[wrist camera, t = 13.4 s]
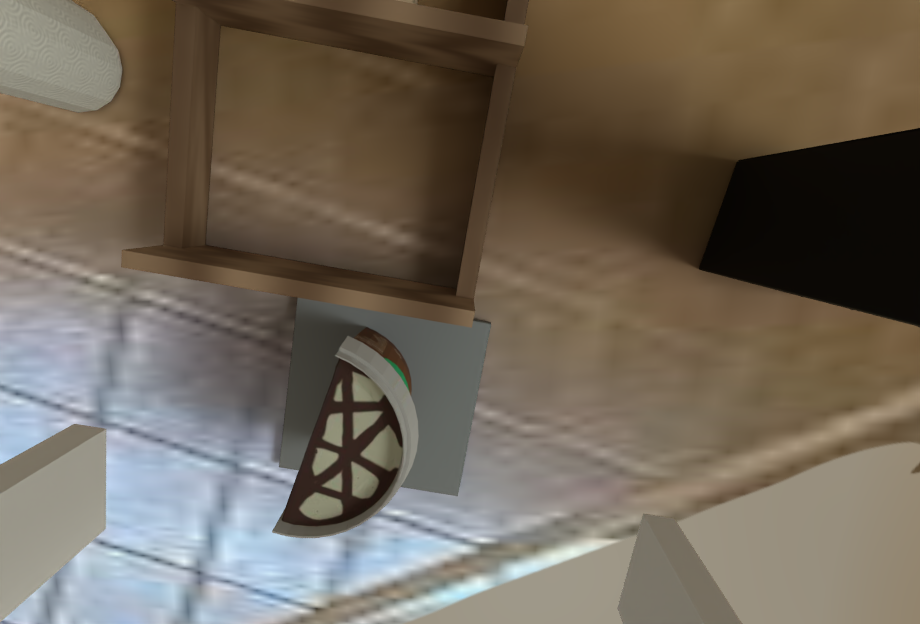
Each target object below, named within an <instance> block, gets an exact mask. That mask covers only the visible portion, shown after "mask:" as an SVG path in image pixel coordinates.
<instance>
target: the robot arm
mask: <svg viewBox="0 0 920 624" xmlns="http://www.w3.org/2000/svg"><path fill="white" fill-rule="evenodd" d="M105 529H106V429H103V428H97V427H91V426H84V425H78V424H73V425H72V426H70V427H68V428H66V429H64V430H63V431H61V432H59V433H57V434H55V435H53V436H52V437H50V438H48V439H46V440H44V441H43V442H41V443H39V444H37V445H35V446H33V447H32V448H30V449H28V450H26V451H24V452H23V453H21V454H19V455H17V456H15V457H14V458H12V459H10V460H8V461H6V462H4V463H3V464H1V465H0V622H1V621H2V620H3V619H4V618H5V617H7V616H8V615H9V614H10V613H11V612H12V611H13V610H14V609H16V608H17V607H18V606H19V605H20V604H21V603H22V602H24V601H25V600H26V599H27V598H28V597H29V596H30V595H31V594H33V593H34V592H35V591H36V590H37V589H38V588H39V587H40V586H42V585H43V584H44V583H45V582H46V581H47V580H48V579H49V578H51V577H52V576H53V575H54V574H55V573H56V572H57V571H59V570H60V569H61V568H62V567H63V566H64V565H65V564H66V563H68V562H69V561H70V560H71V559H72V558H73V557H74V556H75V555H77V554H78V553H79V552H80V551H81V550H82V549H83V548H85V547H86V546H87V545H88V544H89V543H90V542H91V541H92V540H94V539H95V538H96V537H97V536H98V535H99V534H100V533H101V532H103V531H104V530H105ZM618 611H619V614H620V616H621V619H622V622H623V624H742V623H741V621H740V620H739V618H738V616H737V615H736V613H735V612H734V610H733V609H732V607H731V606H730V604H729V603H728V601H727V599H726V598H725V596H724V595H723V593H722V592H721V590H720V589H719V587H718V585H717V584H716V582H715V581H714V579H713V578H712V576H711V575H710V573H709V572H708V570H707V568H706V567H705V565H704V564H703V562H702V561H701V559H700V558H699V556H698V554H697V553H696V551H695V550H694V548H693V547H692V545H691V544H690V542H689V541H688V539H687V538H686V536H685V535H684V533H683V531H682V530H681V528H680V527H679V525H678V524H677V522H676V520H675V519H674V518H668V517H662V516H655V515H649V514H643V517H642V520H641V524H640V528H639V531H638V535H637V539H636V542H635V546H634V550H633V553H632V557H631V561H630V564H629V569H628V572H627V576H626V579H625V583H624V587H623V591H622V594H621V598H620V601H619V605H618Z"/></svg>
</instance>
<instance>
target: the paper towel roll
mask: <svg viewBox="0 0 920 624" xmlns="http://www.w3.org/2000/svg"><path fill="white" fill-rule="evenodd" d="M121 76H122V65H121V60H120V56H119V52H118V49H117V48H116V46H115V45H114V43H113V42H112V40H111V39H110V37H109V36H108V34H107V33H106V31H105V30H104V29H103V27H102V26H101V25H100V23H99V22H98V20H97V19H96V18H95V16H94V15H93V14H91V13H90V12H88V11H87V10H85V9H84V8H82V7H81V6H79V5H77V4H76V3H74V2H73V1H72V0H0V93H3V94H7V95H11V96H15V97H19V98H23V99H27V100H31V101H35V102H39V103H43V104H47V105H50V106H54V107H58V108H62V109H66V110H70V111H74V112H86V111H95V110H98V109H100V108H101V107H103V106H104V105H106V104H108V103H109V102H111V101H112V99H113V97H114V96H115V94H116V93H117V91H118V89H119V88H120V83H121Z"/></svg>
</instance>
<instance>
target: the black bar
mask: <svg viewBox="0 0 920 624" xmlns="http://www.w3.org/2000/svg"><path fill="white" fill-rule="evenodd" d="M699 270H703V271H706V272H710V273H714V274H718V275H722V276H726V277H729V278H733V279H737V280H741V281H745V282H749V283H752V284H756V285H760V286H764V287H768V288H772V289H775V290H779V291H783V292H787V293H791V294H794V295H798V296H801V297H806V298H810V299H814V300H818V301H822V302H826V303H829V304H833V305H837V306H841V307H845V308H849V309H851V310H857V311H861V312H864V313H868V314H872V315H876V316H880V317H884V318H888V319H892V320H896V321H899V322H903V323H907V324H911V325H915V326H918V327H920V128H917V129H912V130H906V131H901V132H895V133H889V134H884V135H878V136H873V137H867V138H861V139H856V140H850V141H844V142H839V143H833V144H828V145H822V146H816V147H811V148H805V149H800V150H794V151H788V152H783V153H777V154H772V155H766V156H760V157H755V158H749V159H743V160H739V161H738V162H737V164H736V167H735V169H734V172H733V175H732V178H731V181H730V183H729V186H728V189H727V192H726V195H725V197H724V200H723V203H722V206H721V209H720V211H719V214H718V217H717V220H716V223H715V225H714V228H713V231H712V234H711V237H710V239H709V242H708V245H707V248H706V251H705V253H704V256H703V259H702V262H701V265H700V267H699Z"/></svg>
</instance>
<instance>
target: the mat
mask: <svg viewBox="0 0 920 624" xmlns="http://www.w3.org/2000/svg"><path fill="white" fill-rule="evenodd" d="M365 327H368V328H370V329H372V330H375V331H377V332H378V333H380V334H381V335H383V336H385V337H386V338H387V339H388V340H389V341H390V342H392V343H393V344H394V345H395V347H396V348H397V349H398V350H399V351H400V353H401V354H402V356H403V358H404V359H405V361H406V363H407V366H408V368H409V372H410V376H411V384H412V392H411V398H412V400H413V403H414V405H415V410H416V415H417V419H418V435H419V437H418V445H417V452H416V455H415V459H414V462H413V465H412V467H411V469H410V471H409V473H408V475H407V477H406V479H405V481H404V482H403V484H402V485H401V487H405V488H411V489H417V490H423V491H429V492H435V493H442V494H448V495H454V496H458V492H459V487H460V481H461V476H462V471H463V466H464V461H465V456H466V451H467V445H468V440H469V435H470V430H471V425H472V420H473V415H474V409H475V404H476V399H477V394H478V389H479V384H480V378H481V373H482V368H483V363H484V358H485V353H486V348H487V342H488V337H489V332H490V327H491V322H486V321H480V320H475V319H473V325H472V328H471V327H465V326H459V325H453V324H447V323H442V322H436V321H430V320H424V319H419V318H413V317H407V316H401V315H395V314H390V313H384V312H378V311H372V310H366V309H361V308H355V307H349V306H343V305H338V304H332V303H326V302H320V301H314V300H309V299H303V298H298V300H297V309H296V318H295V327H294V336H293V345H292V354H291V363H290V372H289V382H288V391H287V400H286V409H285V418H284V427H283V436H282V445H281V454H280V463H279V467H281V468H288V469H294V470H299V469H300V466H301V463H302V460H303V457H304V455H305V452H306V449H307V446H308V443H309V440H310V437H311V435H312V432H313V430H314V427H315V424H316V422H317V419H318V416H319V414H320V411H321V408H322V405H323V402H324V400H325V397H326V394H327V392H328V389H329V386H330V383H331V381H332V378H333V375H334V372H335V367H336V365H337V363H338V360H339V358H338V357H336V356H335V355H336V354H337V352H338V351H339V349H340V346H341V345H342V343H343V342H344V341H345V339H346V338H347V336H349V337H351V338H354V337H355V336H356V335H357V334H359V333H360V332H361V331H362V330H363V329H364V328H365Z"/></svg>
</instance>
